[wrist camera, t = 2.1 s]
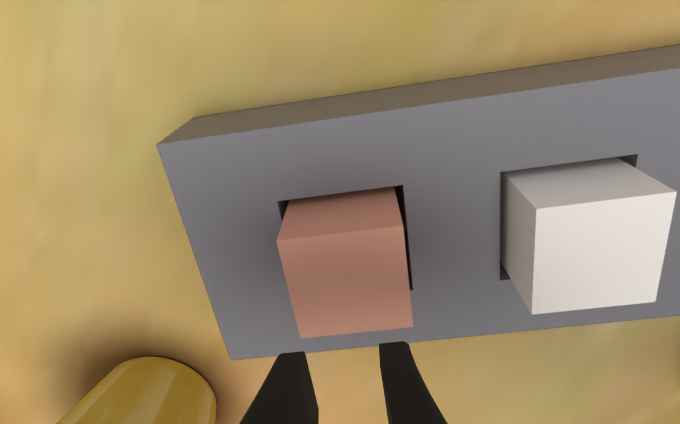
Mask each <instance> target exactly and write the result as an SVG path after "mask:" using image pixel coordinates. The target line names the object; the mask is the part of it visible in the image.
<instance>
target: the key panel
mask: <svg viewBox="0 0 680 424" xmlns="http://www.w3.org/2000/svg"><path fill="white" fill-rule="evenodd" d="M156 145H157V148H158V151H159V154H160V157H161V160H162V162H163V165H164V168H165V171H166V174H167V177H168V180H169V183H170V186H171V189H172V192H173V194H174V197H175V200H176V203H177V206H178V209H179V212H180V215H181V218H182V221H183V224H184V227H185V229H186V232H187V235H188V238H189V241H190V244H191V247H192V250H193V253H194V256H195V259H196V262H197V264H198V267H199V270H200V273H201V276H202V279H203V282H204V285H205V288H206V291H207V294H208V296H209V299H210V302H211V305H212V308H213V311H214V314H215V317H216V320H217V323H218V326H219V329H220V331H221V334H222V337H223V340H224V343H225V346H226V349H227V352H228V355H229V358H230V361H232V360H242V359H251V358H261V357H271V356H279V355H280V354H281V353H290V352H300V351H305V353H311V352H321V351H331V350H341V349H351V348H361V347H371V346H379V343H389V342H399V341H405V342H406V343H411V342H421V341H431V340H441V339H451V338H461V337H471V336H481V335H491V334H501V333H511V332H521V331H531V330H540V329H550V328H560V327H570V326H580V325H590V324H600V323H610V322H620V321H630V320H640V319H650V318H660V317H670V316H680V44H679V45H672V46H666V47H659V48H652V49H646V50H639V51H632V52H626V53H619V54H613V55H606V56H599V57H593V58H586V59H579V60H573V61H566V62H559V63H553V64H546V65H539V66H533V67H526V68H519V69H513V70H506V71H499V72H493V73H486V74H479V75H473V76H466V77H459V78H453V79H446V80H439V81H433V82H426V83H420V84H413V85H406V86H400V87H393V88H386V89H380V90H373V91H366V92H360V93H353V94H346V95H340V96H333V97H326V98H320V99H313V100H306V101H300V102H293V103H286V104H280V105H273V106H266V107H260V108H253V109H246V110H240V111H233V112H226V113H220V114H213V115H207V116H200V117H194V118H192V119H191V120H190V121H188V122H187V123H185V124H184V125H183V126H181V127H180V128H179V129H177V130H176V131H174V132H173V133H172V134H170V135H169V136H167V137H166V138H165V139H163V140H162V141H160V142H159V143H158V144H156ZM611 157H617V158H619V159H621V160H622V161H624V162H626V163H628V164H629V165H631V166H633V167H635V168H636V169H638V170H640V171H642V172H643V173H645V174H647V175H649V176H650V177H652V178H654V179H656V180H657V181H659V182H661V183H663V184H664V185H666V186H668V187H670V188H671V189H673V190H675V191H677V194H676V199H675V204H674V209H673V214H672V220H671V225H670V230H669V235H668V240H667V245H666V250H665V255H664V260H663V265H662V270H661V276H660V281H659V286H658V291H657V296H656V301H655V302H649V303H640V304H630V305H620V306H611V307H601V308H591V309H582V310H572V311H562V312H553V313H543V314H533V315H531V313H530V311H529V309H528V308H527V306H526V304H525V303H524V301H523V299H522V297H521V296H520V294H519V292H518V291H517V289H516V287H515V286H514V284H513V282H512V280H511V279H510V277H509V275H508V274H507V272H506V270H505V268H504V267H503V265H502V263H501V262H500V172H504V171H512V170H520V169H527V168H535V167H542V166H550V165H558V164H565V163H573V162H581V161H588V160H596V159H604V158H611ZM390 186H397V193H398V203H399V210H400V214H401V218H402V223H403V229H404V239H405V249H406V259H407V269H408V279H409V289H410V299H411V309H412V319H413V327H407V328H398V329H388V330H378V331H369V332H359V333H349V334H340V335H330V336H320V337H311V338H301V339H300V335H299V331H298V327H297V323H296V319H295V315H294V311H293V307H292V303H291V299H290V295H289V291H288V287H287V282H286V278H285V274H284V270H283V266H282V262H281V258H280V254H279V250H278V246H277V242H276V241H277V237H278V234H279V231H280V228H281V225H282V221H283V218H284V215H285V212H286V209H287V206H288V202H289V200H291V199H298V198H306V197H314V196H321V195H329V194H337V193H344V192H352V191H359V190H367V189H375V188H382V187H390Z"/></svg>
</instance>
